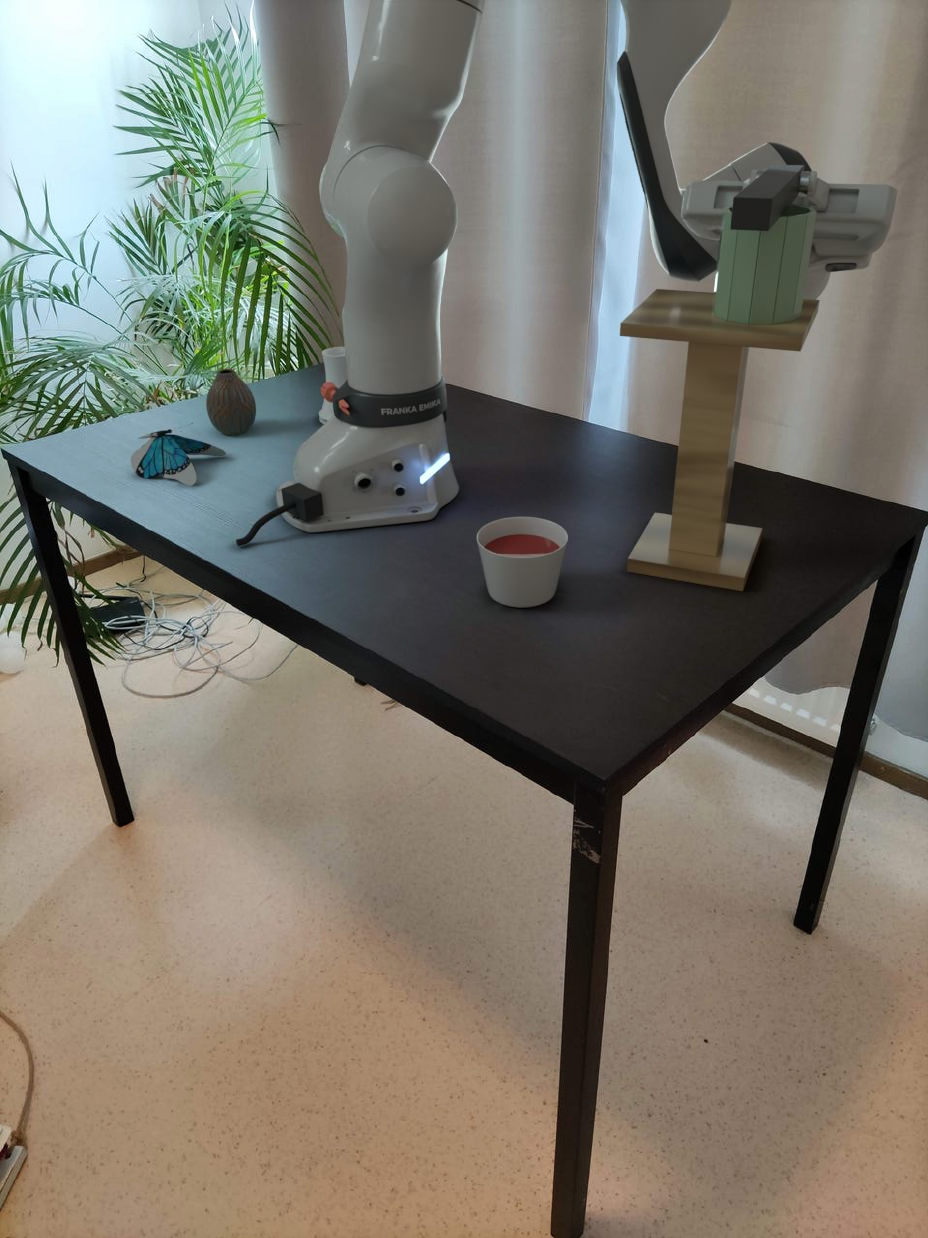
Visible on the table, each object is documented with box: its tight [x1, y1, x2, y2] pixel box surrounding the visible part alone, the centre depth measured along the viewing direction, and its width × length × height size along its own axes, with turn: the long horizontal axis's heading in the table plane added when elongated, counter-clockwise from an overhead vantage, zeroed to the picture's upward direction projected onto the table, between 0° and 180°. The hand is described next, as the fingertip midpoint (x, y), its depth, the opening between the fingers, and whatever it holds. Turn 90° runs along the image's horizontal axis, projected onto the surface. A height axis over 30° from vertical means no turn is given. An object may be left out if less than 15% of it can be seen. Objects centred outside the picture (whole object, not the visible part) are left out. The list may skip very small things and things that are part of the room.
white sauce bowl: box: [476, 516, 569, 609], centre depth 98 cm, size 9×9×6 cm
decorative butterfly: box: [130, 422, 227, 487], centre depth 129 cm, size 10×6×10 cm
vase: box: [205, 368, 257, 436], centre depth 139 cm, size 7×7×9 cm
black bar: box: [730, 165, 805, 231], centre depth 85 cm, size 22×3×2 cm, turn 157°
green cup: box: [712, 204, 817, 324], centre depth 88 cm, size 8×8×9 cm
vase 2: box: [318, 346, 347, 425], centre depth 142 cm, size 8×8×10 cm
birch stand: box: [619, 288, 821, 592], centre depth 98 cm, size 14×16×26 cm
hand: (782, 178), depth 91 cm, fingers closed on black bar, 3 cm apart
